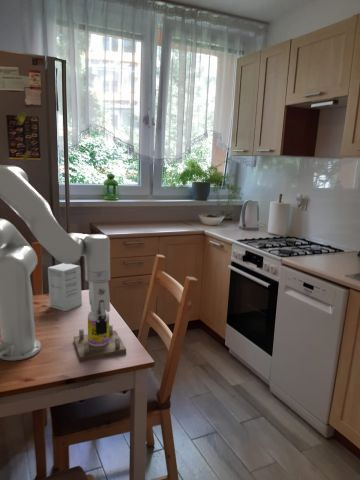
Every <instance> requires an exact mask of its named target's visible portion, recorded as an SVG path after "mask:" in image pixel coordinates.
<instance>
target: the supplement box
mask: <svg viewBox="0 0 360 480" xmlns="http://www.w3.org/2000/svg"><path fill="white" fill-rule="evenodd" d="M81 269H82V268H81V265H76V264H74V263H73V264H64V263H62V262H61V263H59V264H56V265H53V266H52V265H51V266H48V267H47V278H48V294H49V295H48V297H49V307H50V308H53V309H57V310H60V311H64V312H67V311H70V310H72V309H75V308H78V307H79V306H81V305H83V299H82V297H83V296H82V294H83V293H82V276H81V275H82V271H81Z"/></svg>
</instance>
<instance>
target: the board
mask: <svg viewBox="0 0 360 480" xmlns="http://www.w3.org/2000/svg"><path fill="white" fill-rule="evenodd" d="M84 332H85V329H83V328H81V329H79V331H78V335H77V336H73V343H74V346H75V350H76V352H77V355H78V358H79V362H80V363H83V362H87V361H93V360H97V359H98V360H99V359H104V358H108V357H109V358H110V357H115V356H120V355H121V356H122V355H125V354H127V348H126V346H125V344H124V343H123V341H122V340H121V338H120V336H119V334H118V332H117V330H114V327H113V324H109V342H108V343H107V344H106V345H104V346H100V347H94V346H91V345H90V344H89V343H88V334H84Z"/></svg>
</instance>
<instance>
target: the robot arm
mask: <svg viewBox="0 0 360 480" xmlns="http://www.w3.org/2000/svg"><path fill="white" fill-rule="evenodd" d="M0 199H1V200H2V201H3V202H4V203H5V204H7V205H8V207H9V208H10V209H11V210H12V211H13V212H15V213H16V215H17V216H18V217H19V218H21V219H22V221H24V222H25V224H26V225H27V227H28V229H29V230H30V231H31V233H32V235H33V236H34V237H35V238H36V240H37V242H38V243H40V245H41V246H42V248H44V249H45V250H46V251H47V252H48V253H49V254H51V256H52V257H53V258H54V259H55V260H57V261H58V262H60V263H61V264H62V263H64V264H73V265H74V264H75V263H77V262H78V261H79V260H80V259H81V257H84V270H85V271H84V272H85V273H84V278H85V281H86V282H88V301H89V306H90V307H91V306H92V310H93V311H94V313H96V318H97V321H96V334H102V333H106V332H107V321H106V312H105V310H106V311H107V312H108V313H109V312H110V311H111V301H110V287H109V281H110V280H111V240H110V237H109V236H108V235H106V234H103V233H96V234H95V233H93V234H87V233H85V234H83V233H78V232H77V233H76V232H70V233H68V232H66V231H65V229H64V228H63V227H62V226H61V225H60V224H59V222H58V221H57V219H56V218H55V216H54V215H53V211H52V209H51V206H50V203H49V202H48V201H47V200H46V199H45V198H44V196H42V195H41V194H40V193H39V192H38V190H36V189H35V188H34V186H32V185H31V184H30V182H29V178H28V174H27V173H26V172H25V171H24V170H23V169H22V168H21V167H19V166H16V165H4V164H0ZM37 265H38V256H37V253H36V251H35V249H34V248H33V247H32V246H31V245H30V243H29V242H28V241H27V240H26V238H25V237H24V236H23V235H22V234H21V232H20V231H19V230H18V228H16V227H15V225H14V224H13V223H11V222H10V221H9V220H7V219H4V218H0V337H1V340H0V359H1V360H3V361H11V362H12V361H20V360H25V359H28V358H31V357H33V356H34V355H37V353H39V352H40V351H41V348H42V343H41V341H40V340H37V339H36V328H35V327H36V326H35V312H34V311H35V310H34V295H33V287H32V282H31V274H32V272H33V271H34V270H35V269H36V267H37ZM92 310H91V309H90V312H91V311H92ZM98 310H100V312H98ZM99 314H101V316H99Z"/></svg>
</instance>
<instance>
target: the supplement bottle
mask: <svg viewBox="0 0 360 480" xmlns="http://www.w3.org/2000/svg"><path fill="white" fill-rule="evenodd" d="M91 310H92V306H90V312H89V313H88V314H87V335H88V343H89V344H90V345H91V346H94V347H100V346H104V345H106V344H107V343H108V342H109V325H110V314H109V312H107V311H106V310H105V312H106V321H107V332H106V333H102V334H96V321H97V318H96V313H94V311H93V310H92V311H91ZM98 312H100V310H98ZM99 316H101V314H99Z"/></svg>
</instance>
